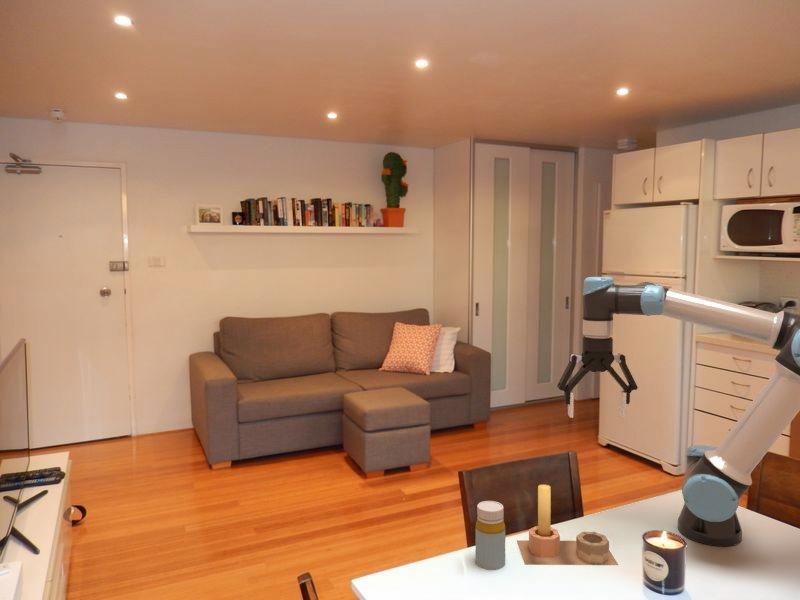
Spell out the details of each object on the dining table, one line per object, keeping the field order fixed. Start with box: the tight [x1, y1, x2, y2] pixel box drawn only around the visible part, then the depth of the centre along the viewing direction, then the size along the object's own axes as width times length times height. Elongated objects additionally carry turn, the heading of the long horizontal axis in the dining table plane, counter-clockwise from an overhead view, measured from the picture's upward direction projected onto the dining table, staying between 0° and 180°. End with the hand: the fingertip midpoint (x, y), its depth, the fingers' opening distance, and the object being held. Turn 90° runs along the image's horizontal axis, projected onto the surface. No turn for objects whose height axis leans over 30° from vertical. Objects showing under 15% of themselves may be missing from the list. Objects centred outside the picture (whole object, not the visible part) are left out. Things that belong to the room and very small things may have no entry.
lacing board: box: [516, 539, 619, 566], centre depth 148 cm, size 22×12×1 cm, turn 88°
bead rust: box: [528, 525, 561, 557], centre depth 149 cm, size 7×7×4 cm
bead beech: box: [575, 531, 610, 564], centre depth 145 cm, size 7×7×4 cm
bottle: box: [475, 500, 506, 571], centre depth 143 cm, size 7×7×15 cm
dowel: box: [537, 484, 552, 537], centre depth 148 cm, size 3×3×16 cm
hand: (596, 416), depth 158 cm, fingers open, 13 cm apart
